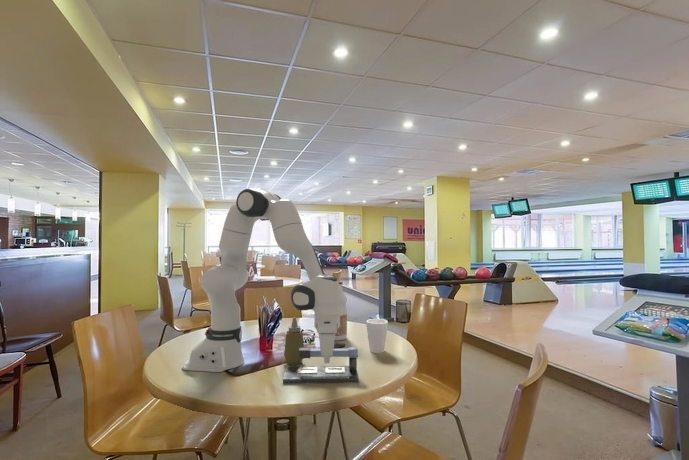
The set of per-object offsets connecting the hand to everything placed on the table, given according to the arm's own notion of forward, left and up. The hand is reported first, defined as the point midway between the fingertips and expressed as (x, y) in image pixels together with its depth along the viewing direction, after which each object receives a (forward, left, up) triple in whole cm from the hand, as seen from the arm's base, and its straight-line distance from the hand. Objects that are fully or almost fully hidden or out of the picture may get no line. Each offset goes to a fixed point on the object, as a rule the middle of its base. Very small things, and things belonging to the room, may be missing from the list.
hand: (326, 361), depth 125 cm
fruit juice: (+5, +53, -7) cm, 54 cm away
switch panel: (-2, +5, -7) cm, 9 cm away
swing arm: (+1, +6, 0) cm, 6 cm away
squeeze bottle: (-13, +19, -7) cm, 25 cm away
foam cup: (+22, +33, -7) cm, 41 cm away
